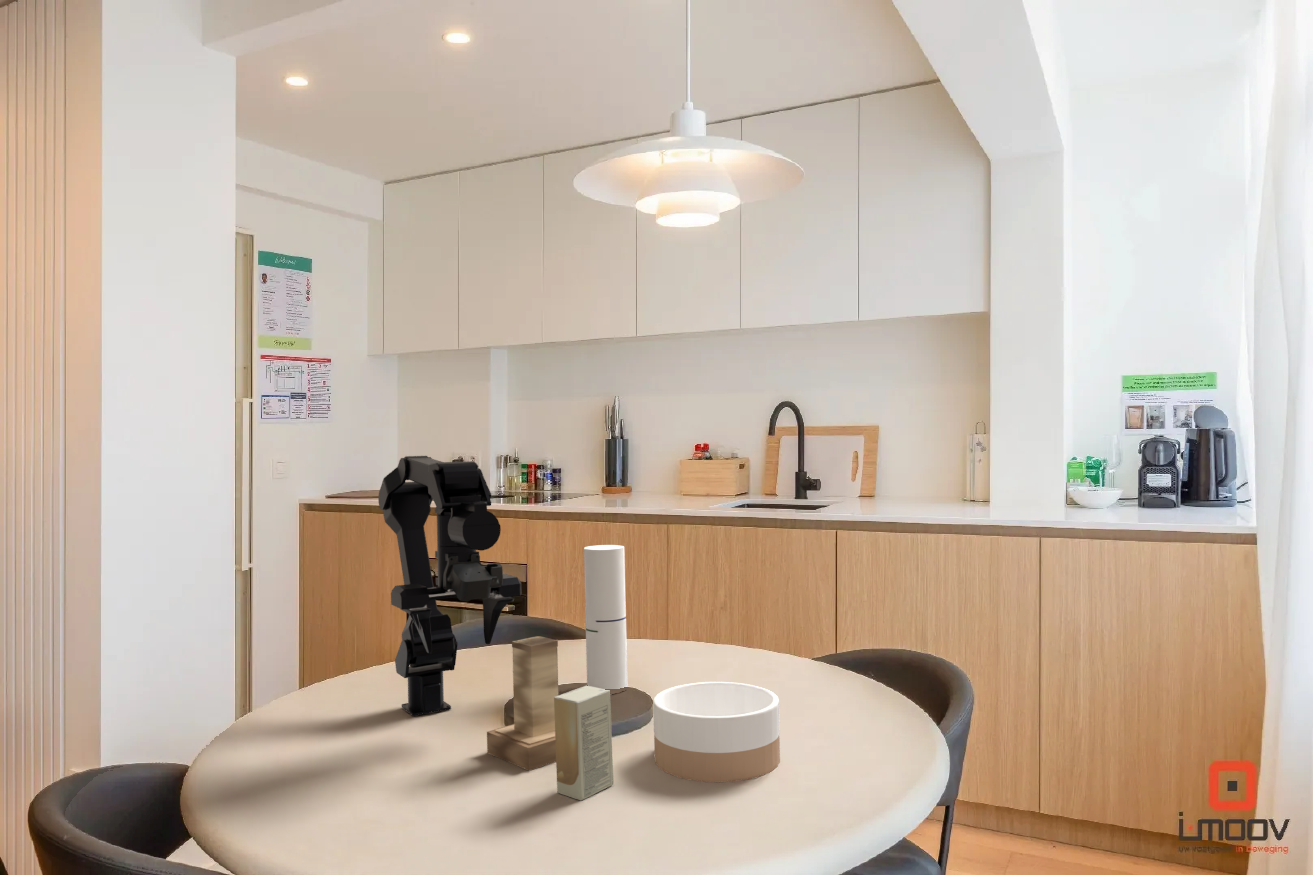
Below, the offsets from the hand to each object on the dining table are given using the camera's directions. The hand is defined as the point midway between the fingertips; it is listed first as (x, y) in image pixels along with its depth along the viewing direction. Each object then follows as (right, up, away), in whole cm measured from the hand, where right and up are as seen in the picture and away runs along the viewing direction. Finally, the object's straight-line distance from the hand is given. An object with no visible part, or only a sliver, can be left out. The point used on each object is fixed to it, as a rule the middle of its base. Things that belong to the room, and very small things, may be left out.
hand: (458, 648), depth 135 cm
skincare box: (+21, -13, -22) cm, 33 cm away
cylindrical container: (+21, -13, +23) cm, 34 cm away
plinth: (+13, -13, -8) cm, 20 cm away
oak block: (+13, -10, -8) cm, 18 cm away
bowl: (+38, -13, -12) cm, 42 cm away
